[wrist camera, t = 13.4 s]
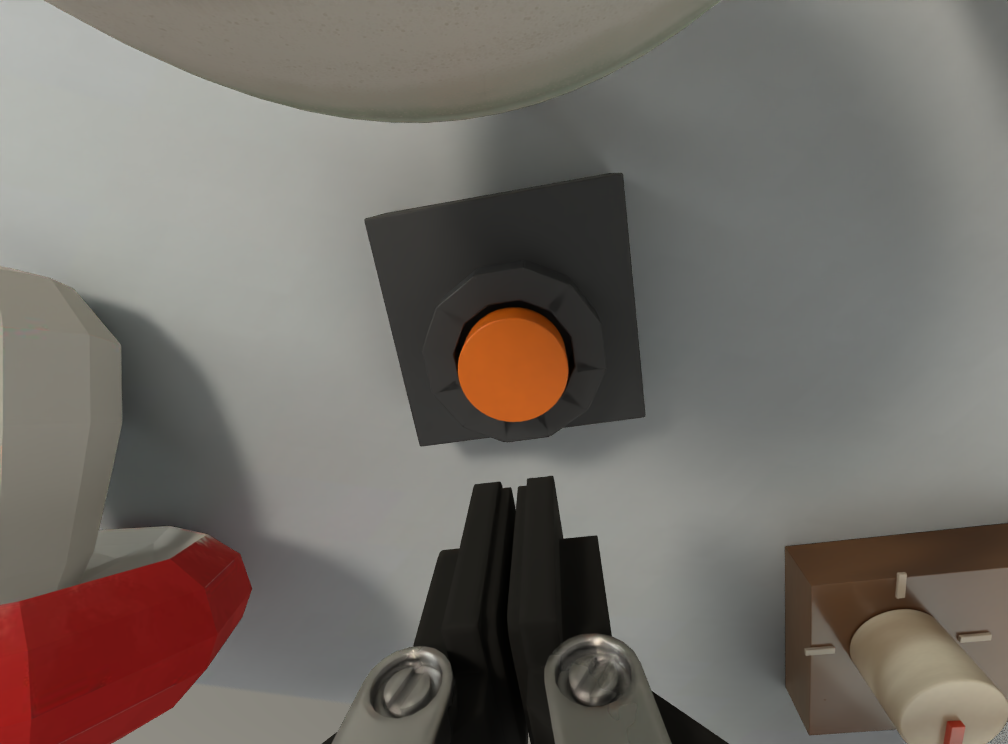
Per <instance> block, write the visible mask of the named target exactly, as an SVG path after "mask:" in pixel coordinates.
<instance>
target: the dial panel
mask: <svg viewBox="0 0 1008 744" xmlns="http://www.w3.org/2000/svg"><path fill="white" fill-rule="evenodd" d="M898 609H911V610H917V611H921V612H924V613H926V614H928V615H930V616H932V617H933V618H935V619H936V620H937V621H938V622H939V623H940V624H941V625H942V626H943V627H944V628H945V630H946V631H947V632H948V633H949V634H950V635H951V636H952V637H953V638H954V640H955V641H956V642H957V643H958V644H959V645H960V646H961V647H962V648H963V650H964V651H965V652H966V653H967V654H968V655H969V656H970V657H971V658H972V660H973V661H974V662H975V663H976V664H977V665H978V666H979V667H980V668H981V669H982V671H983V672H984V673H985V674H986V675H987V676H988V677H989V678H990V679H991V681H992V682H993V683H994V684H995V685H996V686H997V687H998V688H999V689H1000V691H1001V692H1002V693H1003V694H1004V695H1005V697H1006V699H1007V702H1008V523H1004V524H995V525H985V526H975V527H966V528H956V529H947V530H937V531H927V532H918V533H908V534H899V535H889V536H880V537H870V538H860V539H851V540H841V541H832V542H822V543H812V544H803V545H793V546H785V684H786V689H787V691H788V693H789V695H790V697H791V699H792V701H793V703H794V705H795V707H796V709H797V712H798V714H799V716H800V718H801V720H802V722H803V724H804V726H805V728H806V730H807V732H808V734H809V735H822V734H837V733H851V732H866V731H880V730H895V729H896V728H895V726H894V724H893V723H892V721H891V720H890V718H889V717H888V715H887V714H886V712H885V711H884V709H883V708H882V706H881V705H880V703H879V701H878V700H877V698H876V697H875V695H874V694H873V692H872V691H871V689H870V688H869V686H868V685H867V683H866V682H865V680H864V678H863V677H862V675H861V674H860V672H859V671H858V669H857V668H856V666H855V665H854V663H853V661H852V659H851V656H850V643H851V640H852V638H853V636H854V634H855V632H856V631H857V630H858V629H859V628H860V627H861V625H863V624H864V623H865V622H866V621H868V620H869V619H871V618H873V617H875V616H876V615H879V614H881V613H884V612H887V611H892V610H898ZM1007 722H1008V720H1007Z"/></svg>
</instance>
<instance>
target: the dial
mask: <svg viewBox="0 0 1008 744" xmlns="http://www.w3.org/2000/svg"><path fill="white" fill-rule="evenodd" d="M850 656H851V659H852V661H853V663H854V665H855V666H856V668H857V669H858V671H859V672H860V674H861V675H862V677H863V678H864V680H865V682H866V683H867V685H868V686H869V688H870V689H871V691H872V692H873V694H874V695H875V697H876V698H877V700H878V701H879V703H880V705H881V706H882V708H883V709H884V711H885V712H886V714H887V715H888V717H889V718H890V720H891V721H892V723H893V724H894V726H895V728H896V729H897V731H898V732H899V734H900V735H901V737H902V738H903V739H904V740H905V742H906V743H908V744H986V743H988V742H989V741H990V740H992V739H993V738H994V737H995V736H997V735H998V734H999V732H1000V731H1001V730H1002V729H1003V727H1004V726H1005V724H1006V722H1007V720H1008V702H1007V699H1006V697H1005V695H1004V694H1003V693H1002V692H1001V691H1000V689H999V688H998V687H997V686H996V685H995V684H994V683H993V682H992V681H991V679H990V678H989V677H988V676H987V675H986V674H985V673H984V672H983V671H982V669H981V668H980V667H979V666H978V665H977V664H976V663H975V662H974V661H973V660H972V658H971V657H970V656H969V655H968V654H967V653H966V652H965V651H964V650H963V648H962V647H961V646H960V645H959V644H958V643H957V642H956V641H955V640H954V638H953V637H952V636H951V635H950V634H949V633H948V632H947V631H946V630H945V628H944V627H943V626H942V625H941V624H940V623H939V622H938V621H937V620H936V619H935V618H933V617H932V616H930V615H928V614H926V613H924V612H921V611H917V610H911V609H898V610H892V611H887V612H884V613H881V614H879V615H876V616H875V617H873V618H871V619H869V620H868V621H866V622H865V623H864V624H863V625H861V627H860V628H859V629H858V630H857V631H856V632H855V634H854V636H853V638H852V640H851V643H850Z"/></svg>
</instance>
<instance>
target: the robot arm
mask: <svg viewBox="0 0 1008 744" xmlns="http://www.w3.org/2000/svg"><path fill="white" fill-rule="evenodd" d="M528 733H529V737H530V742H531V744H729V743H727V742H726V741H724V740H723V739H721V738H720V737H718V736H717V735H715V734H714V733H712V732H711V731H710V730H708V729H707V728H705V727H704V726H702V725H701V724H699V723H698V722H696V721H695V720H693V719H692V718H691V717H689V716H688V715H686V714H685V713H683V712H682V711H680V710H679V709H677V708H676V707H674V706H673V705H672V704H670V703H669V702H667V701H666V700H664V699H663V698H661V697H660V696H658V695H657V694H655V693H654V692H653V691H651V688H650V686H649V683H648V681H647V678H646V675H645V673H644V670H643V668H642V665H641V662H640V661H639V659H638V657H637V656H636V654H635V652H634V651H633V650H632V649H631V648H630V647H629V646H627V645H626V644H625V643H624V642H623V641H620V640H618V639H616V638H614V637H612V634H611V627H610V620H609V613H608V606H607V599H606V593H605V586H604V579H603V572H602V565H601V558H600V551H599V544H598V537H597V536H587V537H576V538H566V539H563V534H562V527H561V521H560V514H559V508H558V501H557V495H556V488H555V482H554V477H553V476H547V477H538V478H529V479H527V486H519V487H518V493H517V504H516V509H515V504H514V498H513V493H512V489H511V487H510V488H503V487H502V484H501V482H492V483H483V484H475V485H474V487H473V492H472V496H471V501H470V505H469V509H468V514H467V518H466V523H465V527H464V531H463V536H462V540H461V545H460V549H450V550H442V551H441V552H440V554H439V556H438V559H437V563H436V566H435V570H434V573H433V577H432V581H431V584H430V588H429V591H428V595H427V598H426V602H425V606H424V609H423V613H422V616H421V620H420V624H419V627H418V631H417V634H416V638H415V642H414V645H413V647H408V648H405V649H402V650H399V651H396V652H394V653H393V654H391V655H389V656H387V657H386V658H384V659H383V660H382V661H380V662H379V663H378V664H377V665H376V666H375V667H374V668H373V669H372V670H371V671H370V673H369V674H368V676H367V677H366V679H365V680H364V682H363V684H362V686H361V688H360V690H359V692H358V693H357V695H356V697H355V699H354V701H353V703H352V705H351V707H350V709H349V711H348V713H347V715H346V717H345V719H344V721H343V722H342V724H341V726H340V729H339V730H338V732H337V733H335V734H334V735H333V736H331V737H330V738H329V739H327V740H326V741H325V742H323V743H322V744H528Z"/></svg>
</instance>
